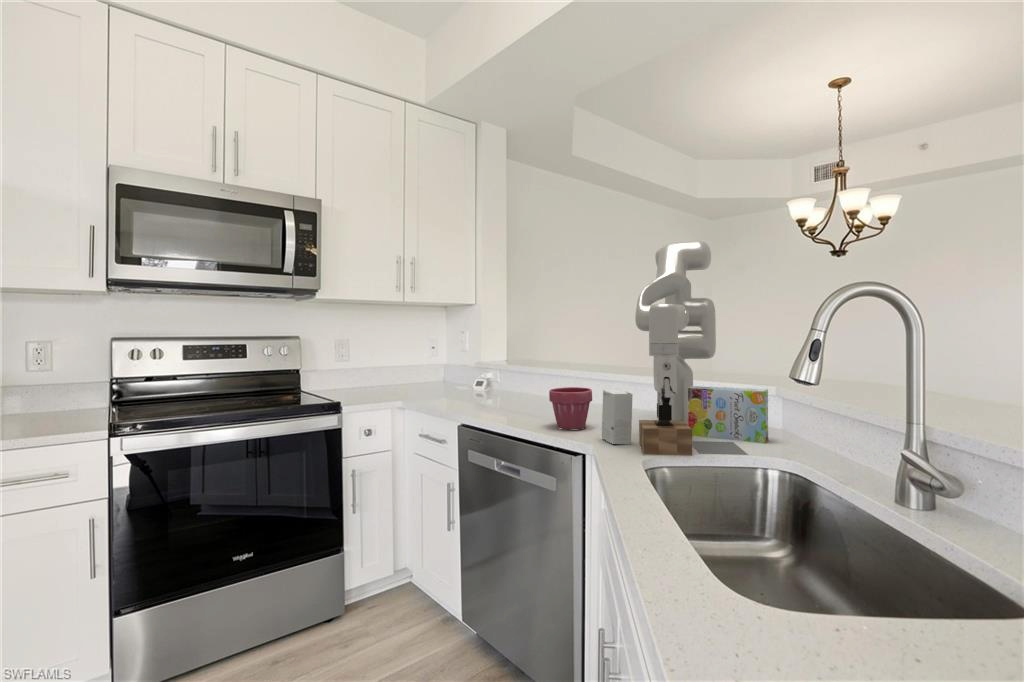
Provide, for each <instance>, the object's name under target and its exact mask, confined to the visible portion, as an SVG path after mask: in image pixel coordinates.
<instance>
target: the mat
mask: <svg viewBox="0 0 1024 682" xmlns="http://www.w3.org/2000/svg"><path fill="white" fill-rule="evenodd" d="M692 448H693V449H695V451H696V452H697V453H698V455H731V456H732V455H735V456H736V455H737V456H739V455H740V456H741V455H742V456H745V455H746V456H749V453H747V452H746V451H745V450H744V449H742V448H741V447H740V446H739V445H737V444H736V442H733V441H708V440H706V441H704V440H703V441H701V440H696V441H695V440H692Z"/></svg>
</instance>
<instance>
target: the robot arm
mask: <svg viewBox="0 0 1024 682" xmlns="http://www.w3.org/2000/svg"><path fill="white" fill-rule="evenodd" d="M654 257H655V263H656V264H655V265H656V267H657V270H656V277H655V278H654V279H653V280H652V281H651V282H649V283H648V284H647V285H646V286H645V287H644V288H643V289H642V290H641V292H640V294H639V295H638V298H637V302H636V308H635V317H634V319H635V324H636V325H635V326H636V327H637V329H639V330H640V331H642V332H648V343H649V344H648V354H649V355H648V356H649V357H653V361H652V362H653V387H654V390H655V392H657V393H656V394H657V395H656V396H657V399H656V400H657V401H656V418H658V393H659V394H660V405H659V420H661V421H671V420H678V421H684V422H685V423H686V424H687V425H688V388H689V387H692V386H694V373H693V369H692V367H691V366H690V365H689V364H688V363H687V362H686V360H702V359H703V360H705V359H706V360H709V359H712V358H713V357H714V356H715V355H716V350H717V349H716V348H717V347H716V346H717V342H716V341H717V340H716V339H717V336H716V335H717V334H716V333H717V329H716V324H717V323H716V322H717V321H716V308H715V306H716V305H715V304H714V302H713V300H712V299H710V298H708V297H692V283H691V282H690V280H689V278H687V272H688V271H704V270H707V269H708V268H709V267H710V265H711V262H712V251H711V248H710V246H709V244H708V243H706V242H705V241H701V240H699V241H698V240H697V241H695V240H693V241H683V242H673V243H668V244H666V245H663V247H660V248H658V249H657V250H656V252H655V256H654ZM663 299H664V303H656V302H658V301H660V300H663ZM655 303H656V304H655ZM686 327H699V328H700V329H701V330H700V329H698V330H696V329H695V330H684V329H686ZM662 392H664V393H662ZM662 396H663V397H662Z"/></svg>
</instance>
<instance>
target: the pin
mask: <svg viewBox="0 0 1024 682" xmlns="http://www.w3.org/2000/svg"><path fill="white" fill-rule="evenodd" d="M662 393H664V392H662ZM662 397H663V396H662ZM657 403H658V417H657V420H658V426H670V421H661V420H659V405H660V394H659V393H658V402H657Z"/></svg>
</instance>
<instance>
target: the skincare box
mask: <svg viewBox="0 0 1024 682" xmlns="http://www.w3.org/2000/svg"><path fill="white" fill-rule="evenodd" d="M601 416H602V417H601V419H602V420H601V439H602V438H603V439H605V440H606V441H605V440H604V441H605V442H607V441H608V442H607V443H609V442H610V443H609V444H611V443H612V444H624V445H631V444H632V424H633V423H632V422H633V393H632V392H628V391H627V390H623V389H602V414H601ZM603 439H602V440H603ZM630 443H631V444H630ZM612 444H611V445H612Z"/></svg>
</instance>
